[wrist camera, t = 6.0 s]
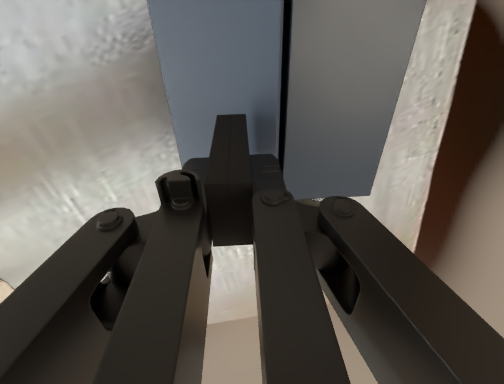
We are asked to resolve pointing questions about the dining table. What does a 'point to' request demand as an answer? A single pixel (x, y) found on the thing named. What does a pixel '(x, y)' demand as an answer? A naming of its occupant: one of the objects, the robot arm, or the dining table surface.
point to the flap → (220, 68)
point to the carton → (340, 90)
